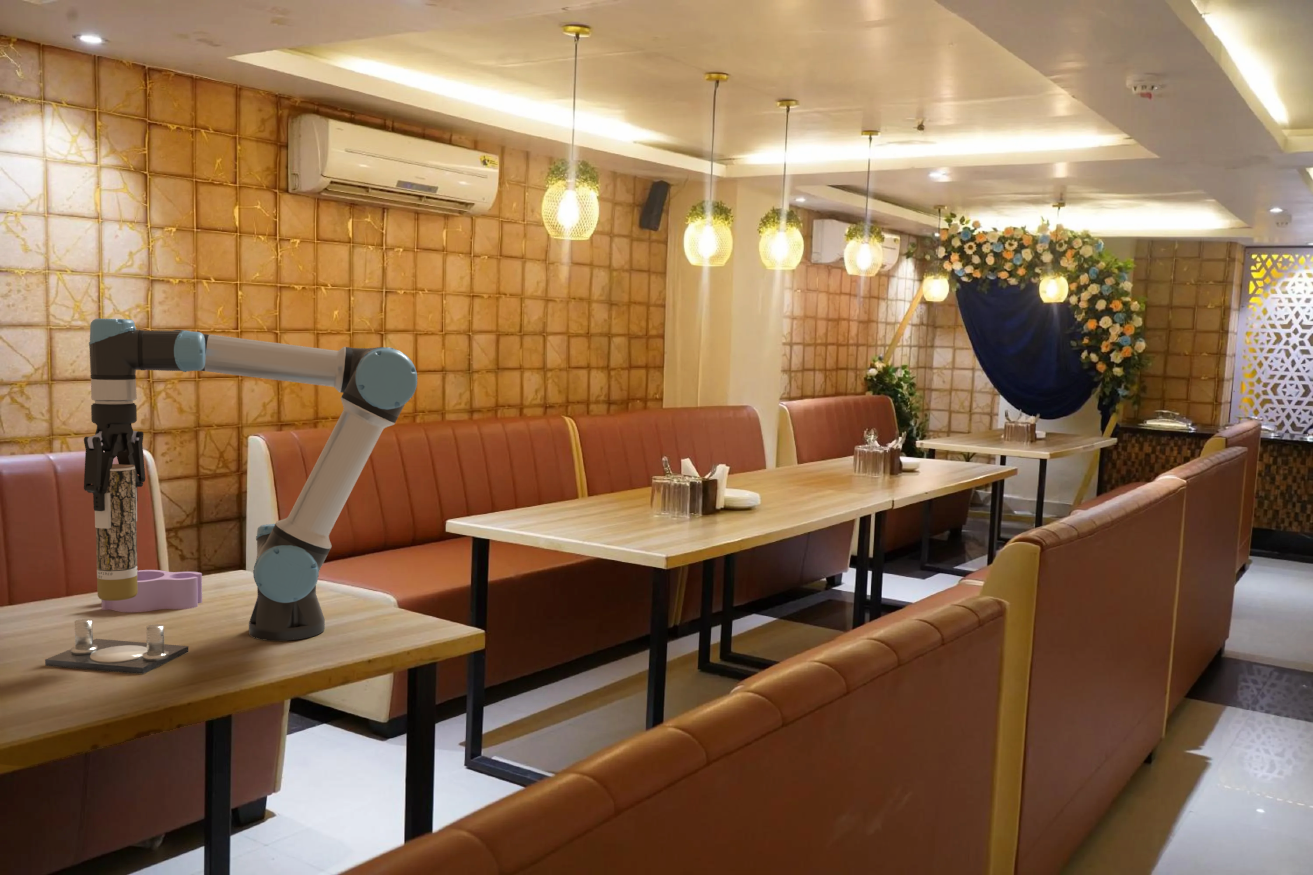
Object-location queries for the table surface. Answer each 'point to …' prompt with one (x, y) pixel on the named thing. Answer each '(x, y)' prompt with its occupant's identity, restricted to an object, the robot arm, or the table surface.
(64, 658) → the plate
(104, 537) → the paper tube
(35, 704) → the table surface
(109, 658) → the white dome cap
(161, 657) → the collar post
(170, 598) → the clip
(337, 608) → the table surface
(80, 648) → the collar post
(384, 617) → the table surface
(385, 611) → the table surface
